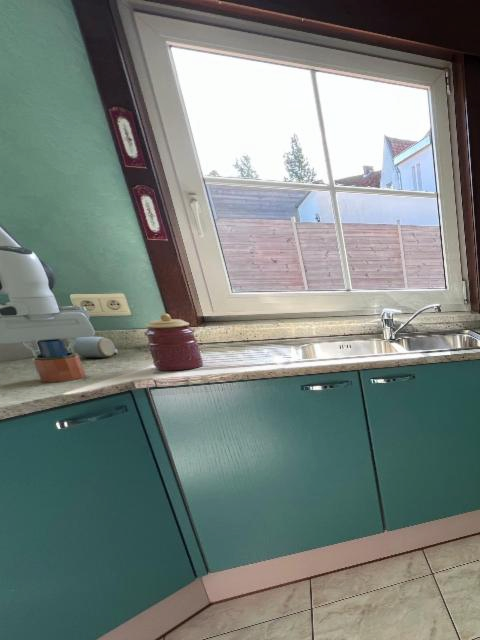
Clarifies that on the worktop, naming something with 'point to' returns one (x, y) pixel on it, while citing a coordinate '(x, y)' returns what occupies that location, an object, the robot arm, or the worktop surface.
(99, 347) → the ceramic mug
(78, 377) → the orange faceted bowl
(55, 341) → the dark blue cylinder
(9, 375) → the worktop surface
